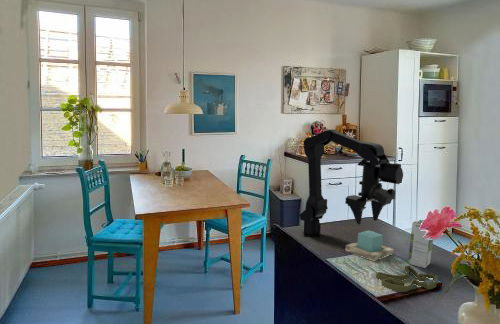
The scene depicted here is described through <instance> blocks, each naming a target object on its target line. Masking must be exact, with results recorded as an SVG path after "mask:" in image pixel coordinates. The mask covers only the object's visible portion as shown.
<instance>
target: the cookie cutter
mask: <svg viewBox="0 0 500 324" xmlns="http://www.w3.org/2000/svg"><path fill="white" fill-rule="evenodd" d="M405 271H406V272H407V273H406V272H405ZM409 271H410V272H409ZM404 272H405V274H401V275H398V274H388V273H384V272H380V271H379V272H376V274H375V279H377V280H379V279H380V280H379V281H381V287H383V286H384V287H383V288H385V287H386V289H388V288H389V289H388V290H390V289H392V290H391V291H394V290H395V291H394V292H399V291H401V293H405V292H409V291H411V289H412V288H413V286H414V285H413V284H416V285H418V286H421V287H424V288H423V289H426V290H432V289H435V288H436V287H437V283H438V279H437V277H438V276H437V275H434V274H431V273H419V272H417V270H415V269H414V267H411V265H405V266H404ZM411 272H412V273H413V274H414V275H415V276H416V277H417V278H416V277H415V276H414V275H413V274H412V273H411ZM410 273H411V274H412V275H413V276H414V277H415V278H416V279H411V282H410V284H408V285H405V284H406V281H405V280H404V279H406V280H408V279H409V277H410ZM426 277H428V278H433V280H434V281H435V282H433V280H432V283H431V282H430V283H429V282H425V280H426V279H425V278H426ZM407 278H408V279H407ZM417 279H418V280H419V281H424V282H419V281H417ZM402 280H403V281H402ZM412 285H413V286H412ZM416 285H415V286H416ZM411 287H412V288H411Z"/></svg>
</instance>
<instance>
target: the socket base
mask: <svg viewBox="0 0 500 324" xmlns="http://www.w3.org/2000/svg"><path fill="white" fill-rule="evenodd" d="M357 244H358V241H357V242H356V241H355V242H352V243H350V244H349V243H348V244H345V249H344V250H345V252H348V253H350V254H353V255H354V256H355V255H356V256H358V255H360V256H363V257H365V258H368V259H370V260H372V261H373V262H375V261H374V260H376V261H378V260H377V259H379V258H382V257H384V256H387V255H391V254H392V256H394V254H395V249H394V248H392V247H388V246H385V245H383V244H382V250H380V251H376V252H373V253H371V252H368V251H366V250H363V249H361V248H358V247H357ZM360 256H359V257H360ZM363 257H362V258H363ZM365 258H364V259H365ZM368 259H367V260H368ZM382 259H383V258H382ZM370 260H369V261H370ZM379 260H380V259H379ZM372 261H371V262H372Z"/></svg>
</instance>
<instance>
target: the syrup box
mask: <svg viewBox="0 0 500 324" xmlns="http://www.w3.org/2000/svg"><path fill="white" fill-rule="evenodd" d="M424 220H425V219H419V218H418V219H416V220H415V221H413V222H412V223H411V224H412V226H411V231H410V232H411V233H410V240H409V241H410V242H409V250H408V258H407V259H408V260H407V264H409V265H410V266H411V265H412V266H416V267H419V268H424V269H427V267H429V265H430V264H431V261H432V251H433V245H434V244H433V243H434V239H433V240H425V239H423V238H422V237H423V236H424V235H425V233H426V231H420V230H419V227H420V225H421V223H422V222H423V221H424Z"/></svg>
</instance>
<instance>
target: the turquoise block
mask: <svg viewBox="0 0 500 324" xmlns="http://www.w3.org/2000/svg"><path fill="white" fill-rule="evenodd" d="M383 237H384V235H383V234H381V233H377V232H374V231H372V230H365V231H362V232H358V233H357V242H358V244H357V247H358V248H361V249H363V250H366V251H368V252H371V253H373V252H376V251H380V250H382V245H383V242H384V239H383Z"/></svg>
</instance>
